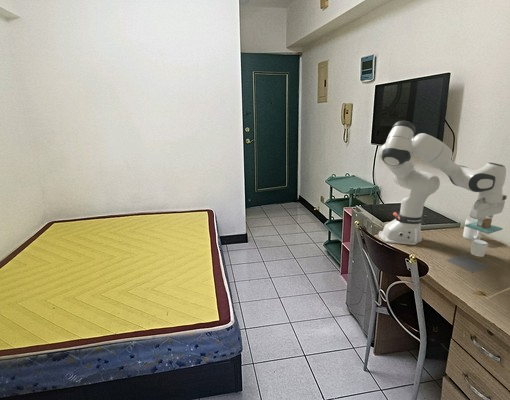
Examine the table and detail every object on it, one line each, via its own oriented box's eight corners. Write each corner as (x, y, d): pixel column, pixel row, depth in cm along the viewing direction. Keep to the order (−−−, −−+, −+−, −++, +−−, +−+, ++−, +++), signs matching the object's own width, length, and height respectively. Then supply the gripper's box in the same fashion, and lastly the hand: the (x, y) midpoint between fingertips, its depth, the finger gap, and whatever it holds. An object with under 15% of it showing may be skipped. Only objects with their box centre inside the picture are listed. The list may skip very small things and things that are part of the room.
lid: (488, 234, 151) (490, 224, 149) (464, 226, 160) (466, 217, 159) (502, 229, 155) (504, 220, 154) (478, 222, 165) (480, 213, 163)
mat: (472, 273, 145) (472, 272, 145) (445, 261, 156) (445, 260, 156) (489, 266, 151) (490, 266, 150) (462, 255, 162) (462, 254, 162)
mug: (485, 244, 173) (489, 226, 170) (468, 243, 175) (471, 225, 172) (476, 235, 184) (480, 218, 181) (460, 234, 186) (463, 217, 183)
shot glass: (485, 259, 158) (488, 246, 156) (469, 255, 161) (471, 243, 159) (485, 253, 163) (487, 240, 161) (469, 250, 167) (471, 238, 165)
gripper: (482, 202, 146) (477, 230, 150) (509, 195, 154) (503, 222, 159) (468, 198, 152) (463, 225, 156) (495, 192, 160) (489, 218, 164)
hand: (483, 224), depth 157 cm, fingers closed on lid, 4 cm apart
